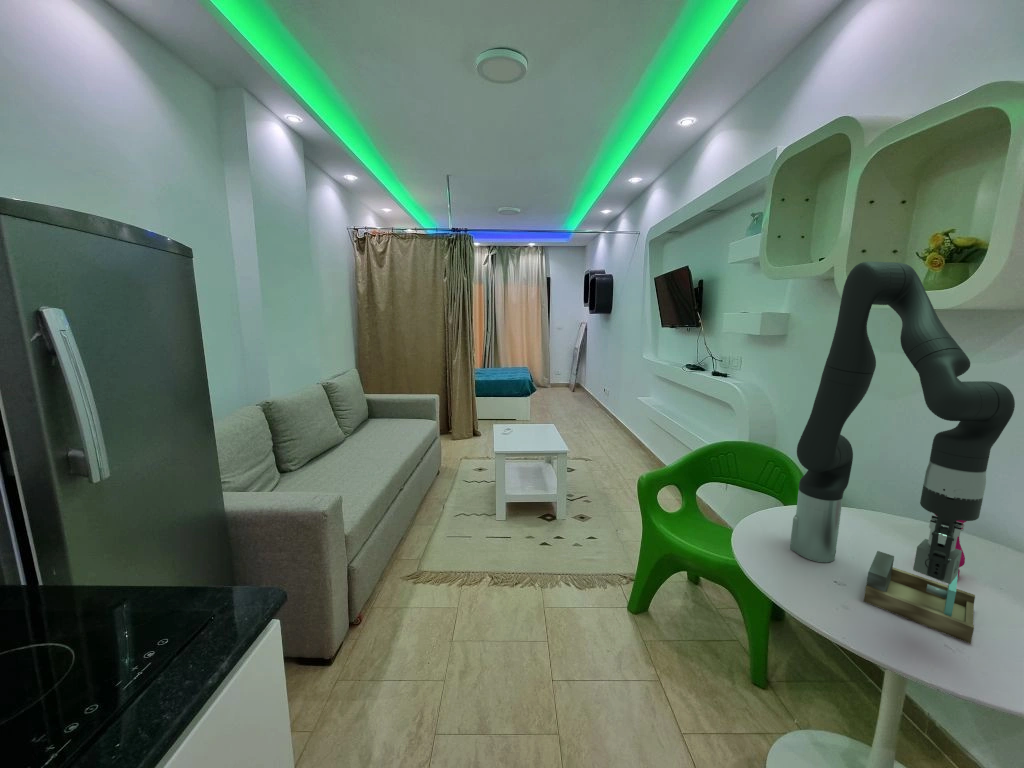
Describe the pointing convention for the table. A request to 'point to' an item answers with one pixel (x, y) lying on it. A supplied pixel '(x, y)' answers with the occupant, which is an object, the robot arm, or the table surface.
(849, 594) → the table surface
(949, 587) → the bar
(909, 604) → the pusher lane
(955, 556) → the dice cube
